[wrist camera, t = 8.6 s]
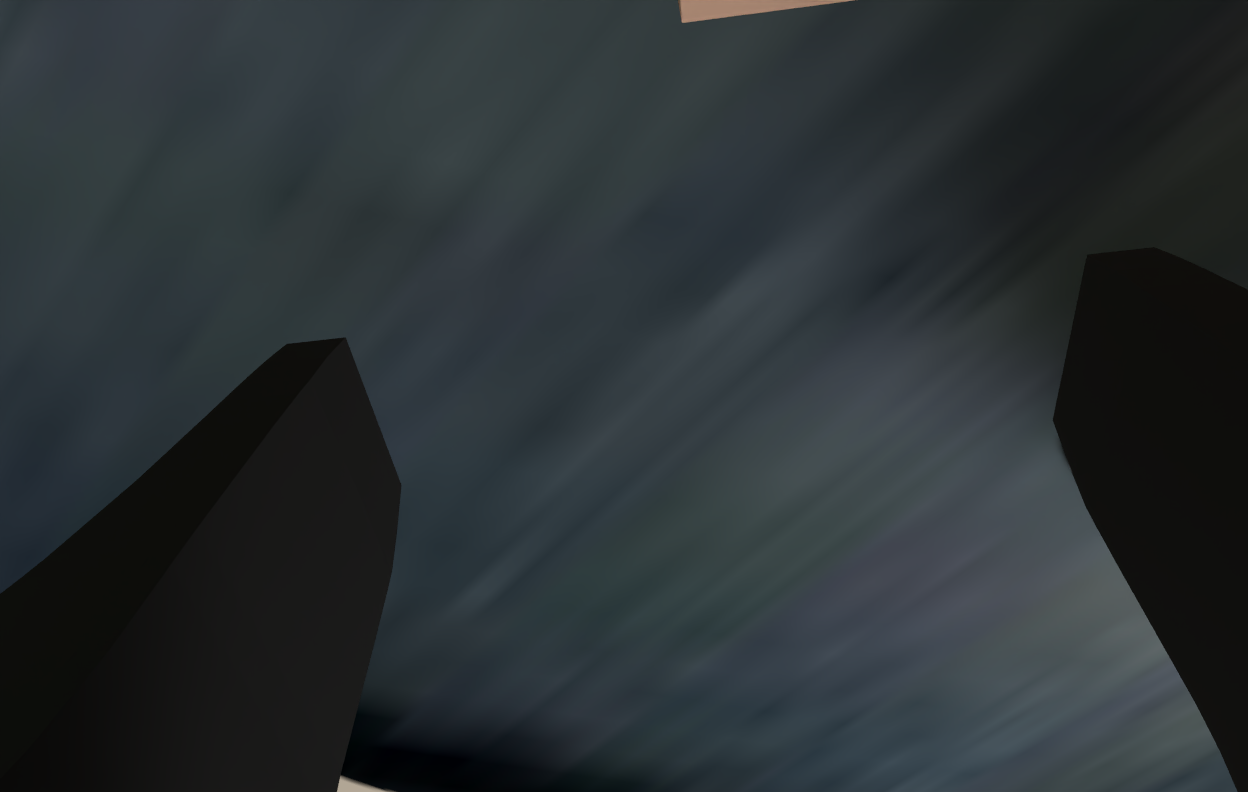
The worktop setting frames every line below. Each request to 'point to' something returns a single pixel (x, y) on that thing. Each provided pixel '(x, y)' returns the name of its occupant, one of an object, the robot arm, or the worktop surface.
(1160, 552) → the robot arm
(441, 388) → the worktop surface
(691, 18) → the tan flat notched board
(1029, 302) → the worktop surface
